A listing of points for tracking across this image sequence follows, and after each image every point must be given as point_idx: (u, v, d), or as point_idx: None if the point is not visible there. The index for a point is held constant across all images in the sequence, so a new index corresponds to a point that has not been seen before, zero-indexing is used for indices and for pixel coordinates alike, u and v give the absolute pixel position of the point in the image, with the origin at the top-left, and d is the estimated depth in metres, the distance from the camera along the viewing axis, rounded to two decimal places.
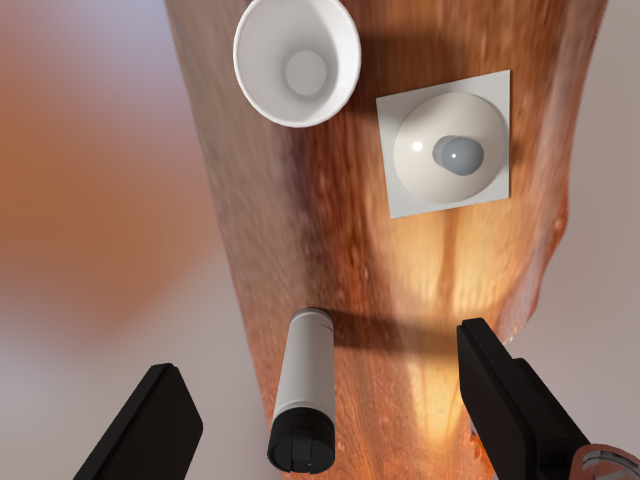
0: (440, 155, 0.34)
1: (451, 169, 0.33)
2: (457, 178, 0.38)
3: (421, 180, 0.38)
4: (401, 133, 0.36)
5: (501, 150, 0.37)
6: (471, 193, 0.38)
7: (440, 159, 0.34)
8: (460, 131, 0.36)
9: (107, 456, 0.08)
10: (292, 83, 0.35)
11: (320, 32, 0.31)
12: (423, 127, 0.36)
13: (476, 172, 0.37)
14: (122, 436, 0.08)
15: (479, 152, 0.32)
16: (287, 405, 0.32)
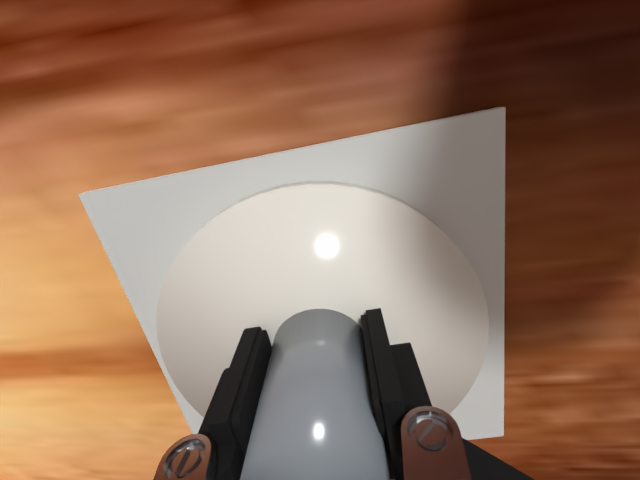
0: (314, 368, 0.09)
1: (261, 462, 0.07)
2: None
3: (223, 287, 0.11)
4: (383, 208, 0.10)
5: None
6: None
7: (299, 369, 0.09)
8: None
9: (234, 397, 0.09)
10: None
11: None
12: (396, 275, 0.11)
13: None
14: (241, 383, 0.09)
15: None
16: None
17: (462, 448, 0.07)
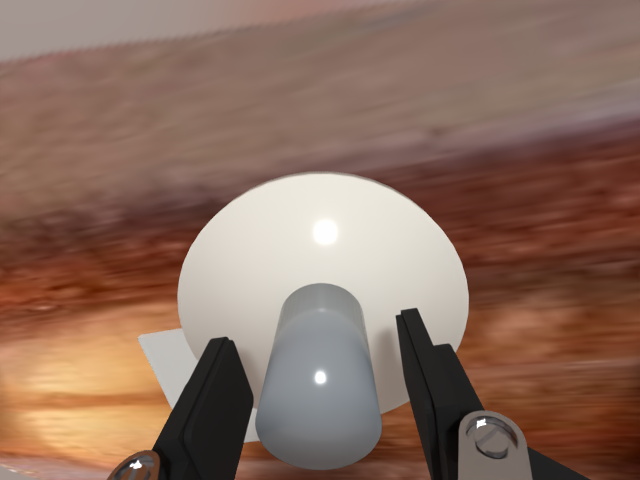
0: (317, 327, 0.10)
1: (274, 394, 0.09)
2: (253, 347, 0.14)
3: (236, 264, 0.13)
4: (375, 193, 0.12)
5: None
6: None
7: (304, 328, 0.11)
8: (371, 339, 0.14)
9: (189, 412, 0.08)
10: None
11: None
12: (387, 253, 0.13)
13: None
14: (198, 397, 0.09)
15: (336, 459, 0.10)
16: None
17: (527, 462, 0.06)
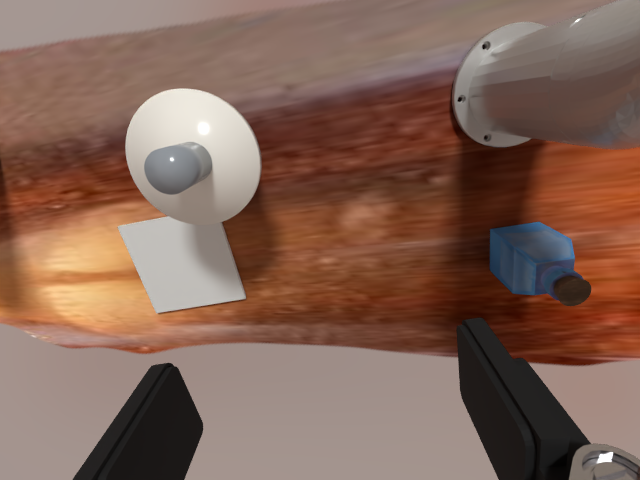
0: (175, 145, 0.26)
1: (150, 155, 0.25)
2: None
3: (151, 131, 0.29)
4: (207, 97, 0.28)
5: (202, 223, 0.32)
6: (147, 197, 0.31)
7: None
8: (217, 173, 0.30)
9: (107, 455, 0.08)
10: None
11: None
12: (217, 126, 0.28)
13: (173, 199, 0.31)
14: (122, 436, 0.08)
15: (176, 188, 0.25)
16: None
17: None
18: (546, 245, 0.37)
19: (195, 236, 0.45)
